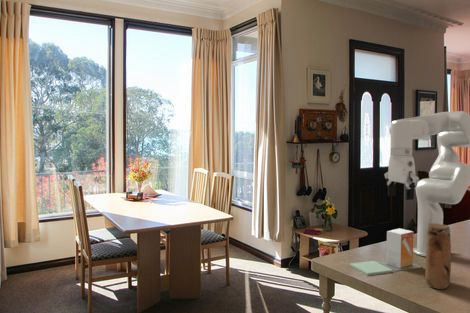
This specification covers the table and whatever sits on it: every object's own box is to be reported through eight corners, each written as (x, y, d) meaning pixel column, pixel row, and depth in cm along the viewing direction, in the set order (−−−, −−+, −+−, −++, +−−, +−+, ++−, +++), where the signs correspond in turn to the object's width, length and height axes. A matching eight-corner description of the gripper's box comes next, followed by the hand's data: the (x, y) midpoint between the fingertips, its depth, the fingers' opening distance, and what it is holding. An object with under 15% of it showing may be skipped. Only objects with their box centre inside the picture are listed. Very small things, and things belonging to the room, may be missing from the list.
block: (425, 277, 137) (427, 221, 136) (450, 281, 133) (451, 223, 132) (424, 288, 127) (425, 227, 126) (450, 292, 124) (451, 230, 123)
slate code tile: (403, 259, 156) (403, 259, 156) (422, 267, 147) (422, 267, 147) (377, 262, 153) (377, 262, 153) (395, 271, 143) (395, 270, 143)
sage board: (373, 262, 153) (373, 260, 153) (393, 272, 142) (393, 269, 142) (349, 265, 150) (349, 263, 149) (367, 275, 139) (367, 273, 139)
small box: (400, 268, 145) (401, 234, 144) (385, 264, 150) (386, 230, 150) (413, 264, 149) (414, 231, 149) (398, 260, 155) (399, 228, 154)
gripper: (426, 153, 140) (425, 200, 141) (393, 151, 157) (393, 193, 158) (409, 153, 138) (408, 201, 139) (377, 152, 155) (377, 194, 156)
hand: (400, 197), depth 148 cm, fingers open, 9 cm apart
